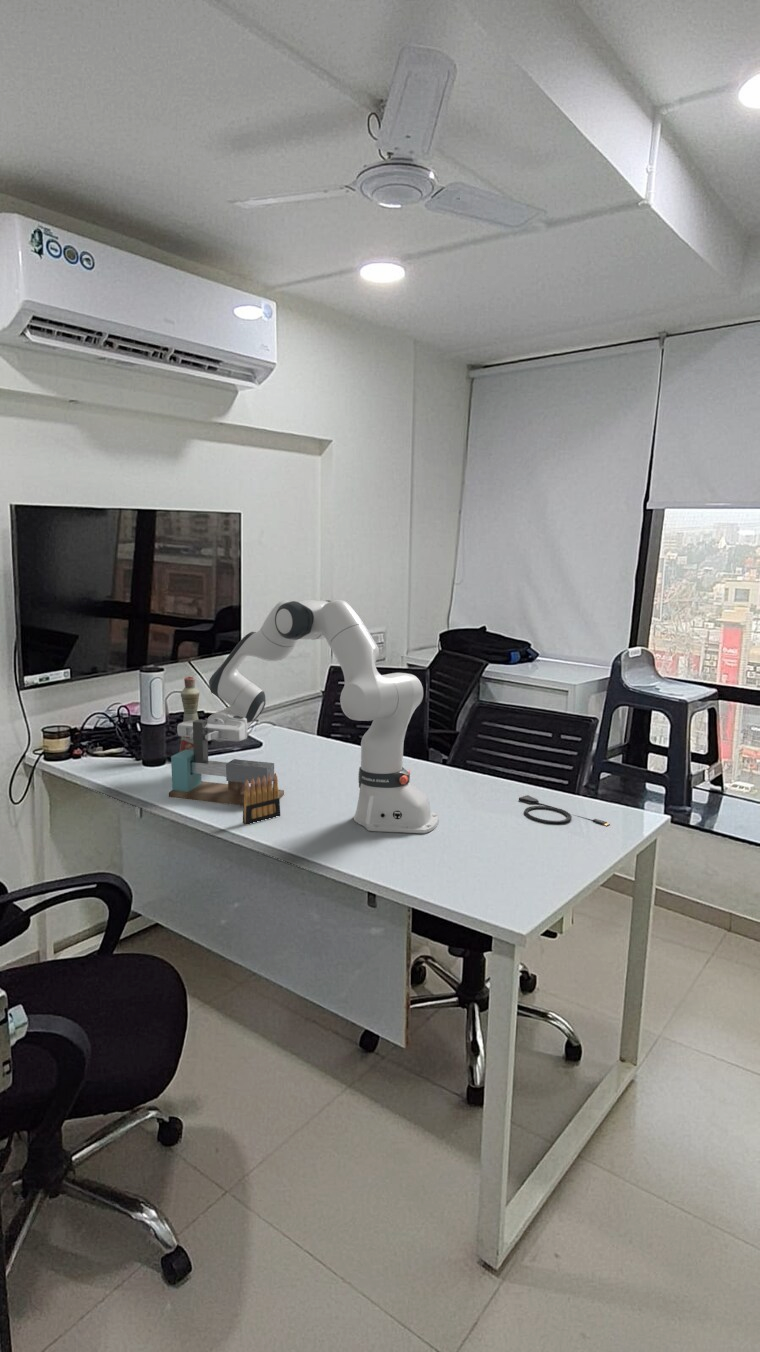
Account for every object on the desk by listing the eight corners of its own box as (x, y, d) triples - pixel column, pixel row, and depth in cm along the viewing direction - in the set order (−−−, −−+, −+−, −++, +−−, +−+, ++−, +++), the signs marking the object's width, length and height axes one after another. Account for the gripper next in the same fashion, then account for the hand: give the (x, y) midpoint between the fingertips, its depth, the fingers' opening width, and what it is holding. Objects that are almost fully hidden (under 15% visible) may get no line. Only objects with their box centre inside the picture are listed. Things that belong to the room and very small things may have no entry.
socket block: (201, 783, 230) (200, 750, 228) (187, 791, 222) (186, 758, 221) (186, 781, 231) (185, 749, 230) (172, 790, 224) (171, 756, 222)
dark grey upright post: (244, 774, 223) (244, 723, 220) (239, 778, 220) (239, 725, 217) (185, 768, 228) (184, 718, 225) (179, 771, 225) (178, 720, 222)
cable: (580, 838, 197) (580, 833, 197) (495, 809, 218) (495, 803, 218) (610, 826, 206) (610, 821, 206) (525, 799, 227) (526, 794, 227)
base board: (284, 795, 226) (283, 776, 225) (267, 808, 214) (266, 789, 213) (189, 784, 234) (189, 767, 233) (168, 797, 222) (168, 778, 221)
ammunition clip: (246, 825, 202) (245, 780, 200) (242, 823, 203) (241, 779, 201) (280, 816, 209) (280, 773, 207) (276, 814, 210) (276, 771, 208)
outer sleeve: (274, 779, 222) (274, 763, 221) (267, 785, 217) (266, 767, 216) (234, 775, 225) (234, 759, 224) (226, 780, 220) (226, 763, 219)
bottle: (204, 753, 267) (202, 673, 262) (207, 760, 259) (205, 678, 254) (178, 755, 265) (175, 674, 260) (180, 762, 256) (177, 679, 251)
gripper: (190, 713, 237) (166, 723, 224) (251, 718, 232) (230, 729, 219) (190, 733, 239) (166, 744, 225) (251, 738, 233) (231, 750, 220)
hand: (198, 737), depth 222 cm, fingers closed on dark grey upright post, 3 cm apart
